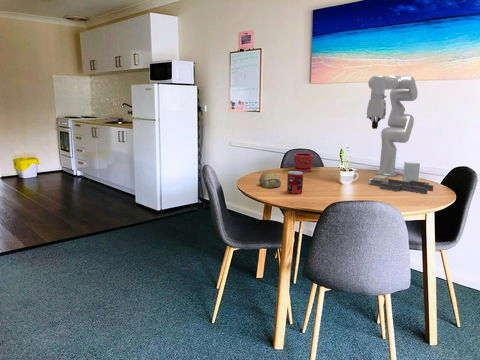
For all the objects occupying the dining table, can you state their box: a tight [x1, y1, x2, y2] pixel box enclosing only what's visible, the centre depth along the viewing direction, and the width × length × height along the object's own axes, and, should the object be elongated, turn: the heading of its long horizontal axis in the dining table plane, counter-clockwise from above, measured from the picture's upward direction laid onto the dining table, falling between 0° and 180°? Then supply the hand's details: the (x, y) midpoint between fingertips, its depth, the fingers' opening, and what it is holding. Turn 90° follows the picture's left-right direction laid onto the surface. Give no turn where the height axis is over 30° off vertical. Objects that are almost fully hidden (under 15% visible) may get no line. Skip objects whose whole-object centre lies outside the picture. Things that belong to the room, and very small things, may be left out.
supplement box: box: [402, 160, 421, 182], centre depth 226 cm, size 7×7×13 cm
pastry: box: [258, 171, 282, 189], centre depth 211 cm, size 14×12×8 cm
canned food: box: [286, 170, 304, 195], centre depth 195 cm, size 8×8×11 cm
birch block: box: [373, 174, 389, 184], centre depth 220 cm, size 6×6×5 cm
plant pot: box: [293, 152, 314, 173], centre depth 259 cm, size 13×13×12 cm
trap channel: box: [368, 177, 434, 195], centre depth 213 cm, size 22×32×3 cm
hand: (374, 128), depth 223 cm, fingers closed
